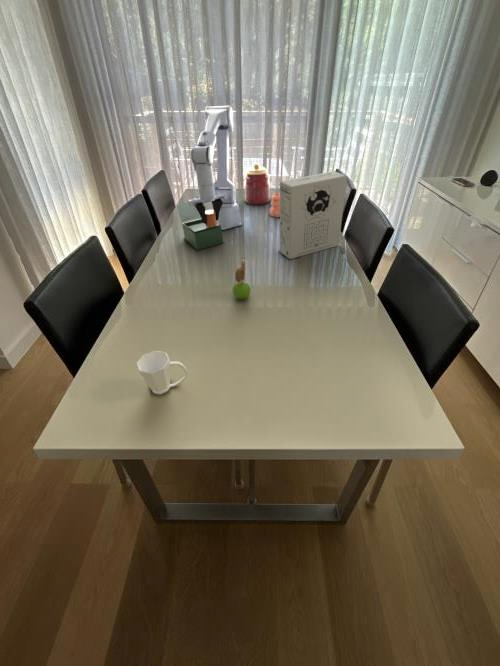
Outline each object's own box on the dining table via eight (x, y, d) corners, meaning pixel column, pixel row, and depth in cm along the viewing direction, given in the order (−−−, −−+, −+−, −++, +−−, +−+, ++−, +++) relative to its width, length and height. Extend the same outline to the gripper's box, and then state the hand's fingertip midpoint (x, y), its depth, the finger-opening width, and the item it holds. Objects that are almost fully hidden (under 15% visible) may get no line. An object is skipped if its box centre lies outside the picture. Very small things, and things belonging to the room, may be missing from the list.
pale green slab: (182, 221, 136) (181, 221, 136) (207, 215, 140) (206, 215, 140) (177, 204, 134) (176, 205, 134) (202, 199, 138) (202, 199, 138)
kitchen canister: (243, 205, 170) (240, 167, 158) (247, 196, 179) (245, 160, 168) (268, 205, 168) (268, 166, 156) (271, 196, 177) (271, 160, 166)
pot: (214, 221, 132) (212, 208, 129) (219, 225, 129) (217, 212, 126) (203, 224, 131) (201, 211, 127) (208, 228, 127) (206, 215, 124)
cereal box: (327, 238, 133) (333, 170, 118) (339, 245, 128) (347, 175, 112) (279, 251, 127) (279, 181, 111) (289, 259, 121) (291, 186, 106)
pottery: (306, 208, 161) (307, 187, 155) (310, 215, 154) (311, 193, 147) (268, 211, 160) (268, 190, 154) (271, 218, 153) (270, 196, 147)
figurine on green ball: (254, 292, 105) (252, 257, 98) (247, 303, 101) (245, 267, 93) (238, 290, 107) (235, 255, 99) (230, 301, 102) (226, 265, 95)
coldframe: (184, 238, 141) (181, 221, 136) (209, 232, 145) (207, 215, 140) (197, 250, 132) (194, 231, 127) (222, 242, 136) (221, 224, 131)
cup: (147, 377, 79) (138, 352, 74) (190, 372, 79) (184, 347, 74) (143, 401, 73) (133, 375, 68) (189, 395, 74) (182, 369, 69)
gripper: (191, 190, 115) (197, 229, 124) (228, 182, 120) (232, 220, 129) (183, 185, 120) (189, 223, 128) (220, 178, 125) (223, 214, 134)
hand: (210, 221), depth 129 cm, fingers closed on pot, 4 cm apart
